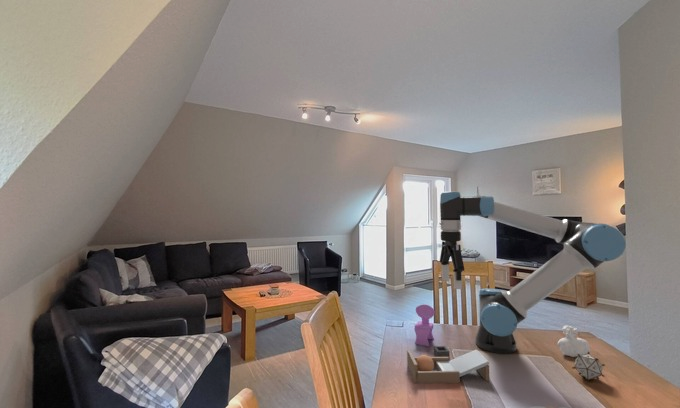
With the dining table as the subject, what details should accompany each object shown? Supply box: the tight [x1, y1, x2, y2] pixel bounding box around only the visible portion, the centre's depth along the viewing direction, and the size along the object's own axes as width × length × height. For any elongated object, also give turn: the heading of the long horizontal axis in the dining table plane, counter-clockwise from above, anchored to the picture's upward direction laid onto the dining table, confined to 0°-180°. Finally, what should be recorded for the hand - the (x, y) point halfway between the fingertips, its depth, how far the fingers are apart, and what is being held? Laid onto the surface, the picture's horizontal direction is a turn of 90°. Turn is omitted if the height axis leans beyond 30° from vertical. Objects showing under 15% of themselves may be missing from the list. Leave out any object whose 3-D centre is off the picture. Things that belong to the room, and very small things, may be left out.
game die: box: [571, 352, 606, 383], centre depth 105 cm, size 9×8×10 cm
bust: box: [556, 325, 591, 358], centre depth 124 cm, size 12×8×11 cm
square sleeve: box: [433, 345, 450, 358], centre depth 123 cm, size 5×5×2 cm
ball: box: [416, 354, 434, 371], centre depth 109 cm, size 6×6×6 cm
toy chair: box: [414, 304, 436, 347], centre depth 136 cm, size 8×9×15 cm
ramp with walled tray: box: [406, 349, 491, 384], centre depth 109 cm, size 25×11×6 cm, turn 90°
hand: (451, 284), depth 125 cm, fingers open, 13 cm apart
